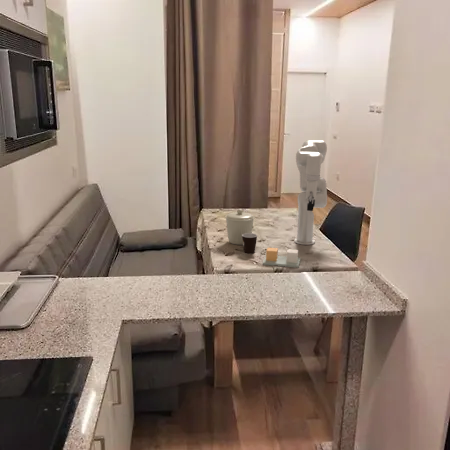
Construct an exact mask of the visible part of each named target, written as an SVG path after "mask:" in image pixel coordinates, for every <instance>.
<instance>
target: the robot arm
mask: <svg viewBox="0 0 450 450" xmlns="http://www.w3.org/2000/svg"><path fill="white" fill-rule="evenodd" d="M327 146H328V145H327V143H326V141H325V140H318V139H317V140H314V139H313V140H306V141H304V142H303V143H302V145H301V147H300V148H299V149H297V152H296V153H295V162H296V166H297V169H298V171H299V189H300V190H301V192H299V193H298V195H297V206H298V207H297V208H298V210H297V211H298V212H297V213H298V214H297V230H296V232H297V233H296V237H295V238H294V240H293V241H294V243H295V244H297V245H303V246H305V245H306V246H307V245H308V246H310V245H314V244H315V243H316V240H315V239H314V237H313V236H314V221H315V220H314V219H315V218H314V217H315V215H314V209H315V208H316V209H318V208H319V209H323V208H326V206H327V205H328V189H327V180H326V179H325V178H324V177H323V176H322V177H321V166H322V164H323V163H324V161H325V158H326V154H327V150H328V147H327Z"/></svg>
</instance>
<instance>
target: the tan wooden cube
mask: <svg viewBox="0 0 450 450" xmlns="http://www.w3.org/2000/svg"><path fill="white" fill-rule="evenodd" d="M265 250H266V252H265V253H266V254H265V256H266V260H268V261H277V258H278V256H279V248H277V247H266V249H265Z"/></svg>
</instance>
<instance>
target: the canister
mask: <svg viewBox="0 0 450 450" xmlns="http://www.w3.org/2000/svg"><path fill="white" fill-rule="evenodd" d="M255 217H256V216H255V215H253V214H252V213H250V212H245V211H244V209H242V208H238V209H237V210H236V211H233V212H229V213H227V214H226V215H225V216H224V218H225V221H226V230H227V239H228V242H229V243H231V244H232V245H237V246H241V245H242V246H243V240H242V235H243V234H246V233H252V232H253V228H254V219H256V218H255Z"/></svg>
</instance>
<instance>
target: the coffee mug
mask: <svg viewBox="0 0 450 450" xmlns="http://www.w3.org/2000/svg"><path fill="white" fill-rule="evenodd" d="M257 239H258V234H256V233H246V234H243V235H242V240H243V245H242V248H243V253H244V254H246V255H252V254H255V253H256V247H257Z"/></svg>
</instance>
